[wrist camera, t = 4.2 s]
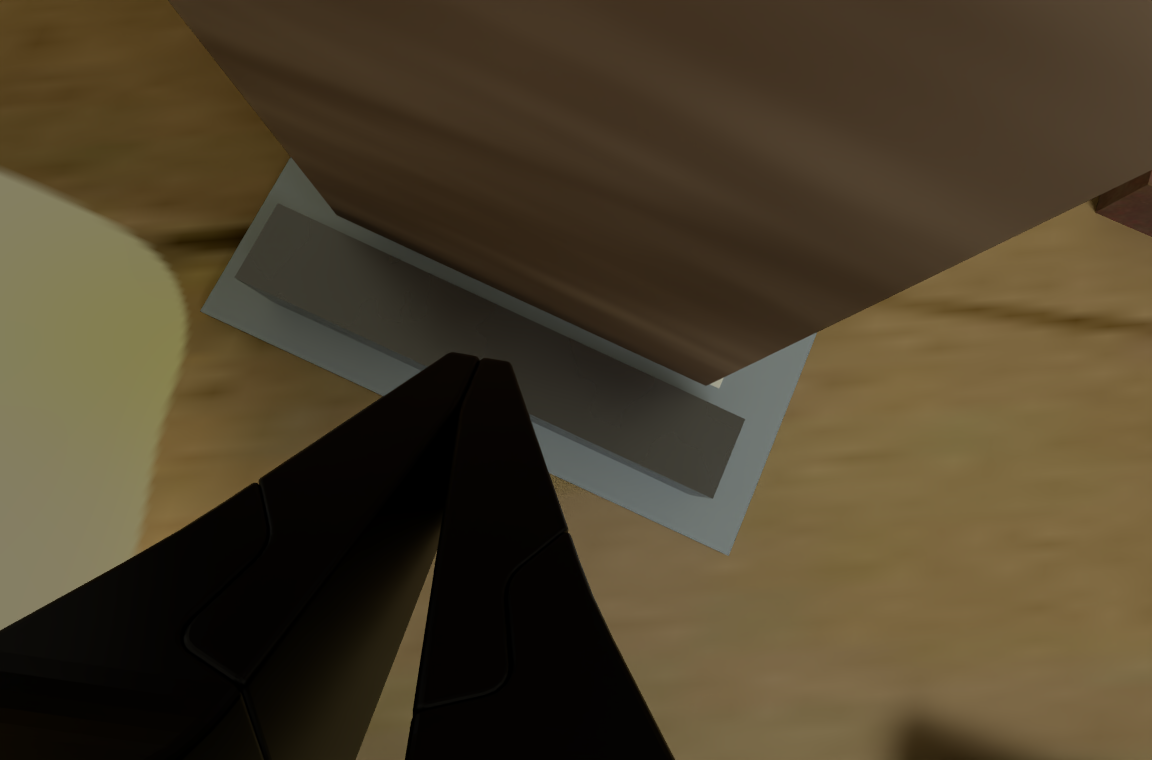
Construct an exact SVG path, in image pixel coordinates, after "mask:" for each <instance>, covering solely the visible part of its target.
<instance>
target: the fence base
mask: <svg viewBox="0 0 1152 760" xmlns="http://www.w3.org/2000/svg"><path fill="white" fill-rule="evenodd" d="M234 278H236V279H238V280H239V281H241V282H242V283H244V284H245V285H247V286H248V287H250V288H252V289H253V290H255V291H256V292H258V293H259V294H261V295H262V296H264V297H266V298H267V299H269V300H270V301H272V302H274V303H276V304H278V305H280V306H282V307H285V308H287V309H289V310H291V311H293V312H295V313H298V314H300V315H302V316H304V317H306V318H308V319H311V320H313V321H315V322H317V323H319V324H321V325H324V326H326V327H328V328H330V329H332V330H334V331H337V332H339V333H341V334H343V335H345V336H347V337H349V338H352V339H354V340H356V341H358V342H360V343H362V344H365V345H367V346H369V347H371V348H373V349H375V350H378V351H380V352H382V353H384V354H386V355H388V356H391V357H393V358H395V359H397V360H399V361H401V362H404V363H406V364H408V365H410V366H412V367H414V368H417V369H419V370H421V371H422V370H424V369H425V368H427V367H428V366H430V365H431V364H433V363H434V362H436V361H437V360H439V359H440V358H442V357H443V356H445V355H446V354H448V353H450V352H456V353H462V354H468V355H474V356H477V357H478V358H479V360H481V359H483V358H491V359H497V360H503V361H508V362H510V363H511V365H512V367H513V370H514V372H515V375H516V378H517V381H518V384H519V387H520V390H521V393H522V396H523V399H524V402H525V405H526V407H527V410H528V413H529V416H530V419H531V422H533V423H535V424H538V425H540V426H542V427H544V428H546V429H548V430H551V431H553V432H555V433H557V434H559V435H561V436H564V437H566V438H568V439H570V440H572V441H574V442H576V443H579V444H581V445H583V446H585V447H587V448H589V449H592V450H594V451H596V452H598V453H600V454H602V455H605V456H607V457H609V458H611V459H613V460H615V461H618V462H620V463H622V464H624V465H626V466H628V467H631V468H633V469H635V470H637V471H639V472H641V473H644V474H646V475H648V476H650V477H652V478H654V479H656V480H659V481H661V482H663V483H665V484H667V485H669V486H672V487H674V488H676V489H678V490H680V491H682V492H685V493H687V494H689V495H692V496H698V497H705V498H711V499H713V498H714V495H715V493H716V490H717V488H718V485H719V483H720V480H721V478H722V475H723V473H724V471H725V468H726V466H727V463H728V461H729V458H730V456H731V453H732V451H733V448H734V446H735V443H736V441H737V439H738V436H739V434H740V431H741V429H742V426H743V424H744V421H745V419H744V418H742V417H740V416H737V415H735V414H733V413H731V412H729V411H727V410H724V409H722V408H720V407H718V406H716V405H714V404H711V403H709V402H707V401H705V400H703V399H701V398H699V397H696V396H694V395H692V394H690V393H688V392H686V391H683V390H681V389H679V388H677V387H675V386H673V385H670V384H668V383H666V382H664V381H662V380H660V379H657V378H655V377H653V376H651V375H649V374H647V373H644V372H642V371H640V370H638V369H636V368H634V367H631V366H629V365H627V364H625V363H623V362H621V361H618V360H616V359H614V358H612V357H610V356H608V355H606V354H603V353H601V352H599V351H597V350H595V349H593V348H590V347H588V346H586V345H584V344H582V343H580V342H577V341H575V340H573V339H571V338H569V337H567V336H564V335H562V334H560V333H558V332H556V331H554V330H551V329H549V328H547V327H545V326H543V325H541V324H538V323H536V322H534V321H532V320H530V319H528V318H525V317H523V316H521V315H519V314H517V313H515V312H513V311H510V310H508V309H506V308H504V307H502V306H500V305H497V304H495V303H493V302H491V301H489V300H487V299H484V298H482V297H480V296H478V295H476V294H474V293H471V292H469V291H467V290H465V289H463V288H461V287H458V286H456V285H454V284H452V283H450V282H448V281H445V280H443V279H441V278H439V277H437V276H435V275H432V274H430V273H428V272H426V271H424V270H422V269H420V268H417V267H415V266H413V265H411V264H409V263H407V262H404V261H402V260H400V259H398V258H396V257H394V256H391V255H389V254H387V253H385V252H383V251H381V250H378V249H376V248H374V247H372V246H370V245H368V244H365V243H363V242H361V241H359V240H357V239H355V238H352V237H350V236H348V235H346V234H344V233H342V232H339V231H337V230H335V229H333V228H331V227H329V226H327V225H324V224H322V223H320V222H318V221H316V220H314V219H311V218H309V217H307V216H305V215H303V214H301V213H298V212H296V211H294V210H292V209H290V208H288V207H285V206H283V205H281V204H279V203H278V204H277V205H276V207H275V209H274V210H273V212H272V214H271V216H270V217H269V219H268V221H267V222H266V224H265V226H264V228H263V229H262V231H261V233H260V234H259V236H258V238H257V240H256V241H255V243H254V245H253V246H252V248H251V250H250V252H249V253H248V255H247V257H246V258H245V260H244V262H243V264H242V265H241V267H240V269H239V270H238V272H237V274H236V276H235V277H234Z"/></svg>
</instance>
